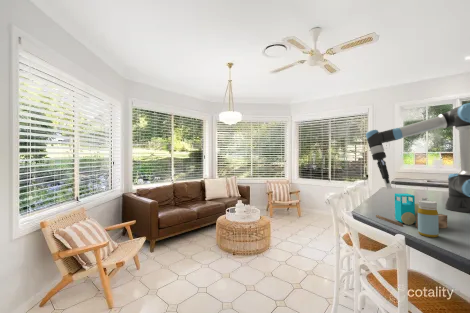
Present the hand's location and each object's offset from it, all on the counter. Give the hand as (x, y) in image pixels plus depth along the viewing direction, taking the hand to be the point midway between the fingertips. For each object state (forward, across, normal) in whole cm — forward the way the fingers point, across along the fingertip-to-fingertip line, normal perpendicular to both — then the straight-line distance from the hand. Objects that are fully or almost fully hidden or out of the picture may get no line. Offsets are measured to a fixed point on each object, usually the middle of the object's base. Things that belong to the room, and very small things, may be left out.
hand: (389, 188), depth 145 cm
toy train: (+20, +19, +3) cm, 28 cm away
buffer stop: (+22, +26, +8) cm, 35 cm away
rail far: (+18, +21, -9) cm, 29 cm away
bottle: (+24, +39, +2) cm, 46 cm away
